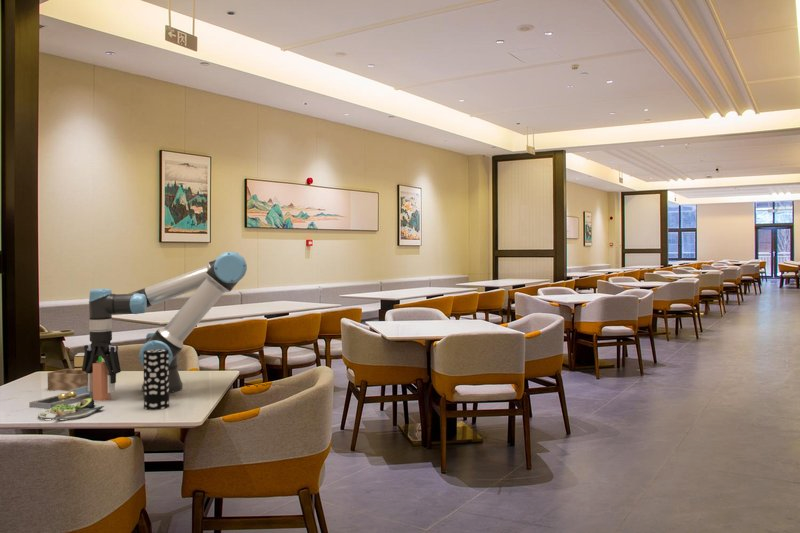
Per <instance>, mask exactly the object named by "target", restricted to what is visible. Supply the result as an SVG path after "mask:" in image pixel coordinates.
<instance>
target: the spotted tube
mask: <svg viewBox="0 0 800 533" xmlns="http://www.w3.org/2000/svg"><path fill="white" fill-rule="evenodd" d="M143 357H144V367H143V382H144V392H143V409H144V410H147V411H156V410H157V411H158V410H164V409H167V408H169V407H170V393H169V350H167V349H152V350H146V351H143Z"/></svg>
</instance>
